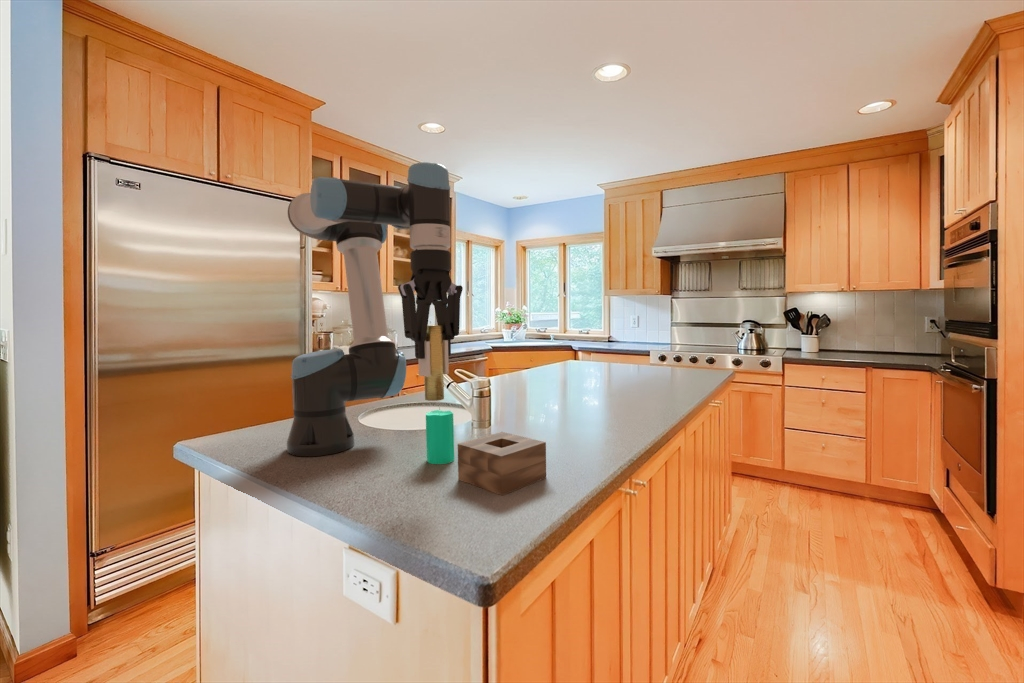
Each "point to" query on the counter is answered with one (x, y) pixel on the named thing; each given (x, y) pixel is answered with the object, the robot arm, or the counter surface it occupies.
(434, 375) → the brass pin
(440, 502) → the counter surface
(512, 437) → the bore block
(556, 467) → the counter surface
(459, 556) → the counter surface
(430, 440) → the candle
